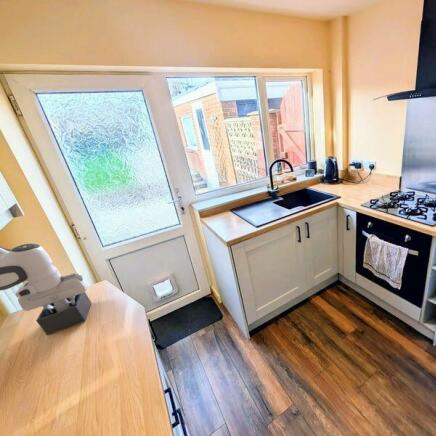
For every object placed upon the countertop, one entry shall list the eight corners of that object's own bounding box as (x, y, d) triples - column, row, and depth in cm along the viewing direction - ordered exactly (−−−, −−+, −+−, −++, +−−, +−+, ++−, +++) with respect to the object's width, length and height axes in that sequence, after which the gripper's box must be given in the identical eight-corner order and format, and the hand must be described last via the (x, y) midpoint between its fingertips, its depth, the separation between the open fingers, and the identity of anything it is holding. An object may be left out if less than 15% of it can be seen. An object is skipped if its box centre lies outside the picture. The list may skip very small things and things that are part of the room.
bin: (46, 335, 97) (36, 320, 93) (57, 314, 107) (47, 300, 104) (85, 321, 101) (76, 307, 98) (91, 302, 112) (83, 289, 108)
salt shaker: (77, 308, 108) (63, 285, 102) (79, 315, 104) (64, 291, 98) (60, 317, 104) (44, 293, 99) (61, 324, 100) (44, 299, 95)
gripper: (80, 267, 103) (95, 293, 108) (17, 286, 95) (36, 313, 101) (77, 275, 97) (92, 302, 103) (9, 296, 90) (29, 323, 95)
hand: (64, 307), depth 102 cm, fingers open, 5 cm apart
